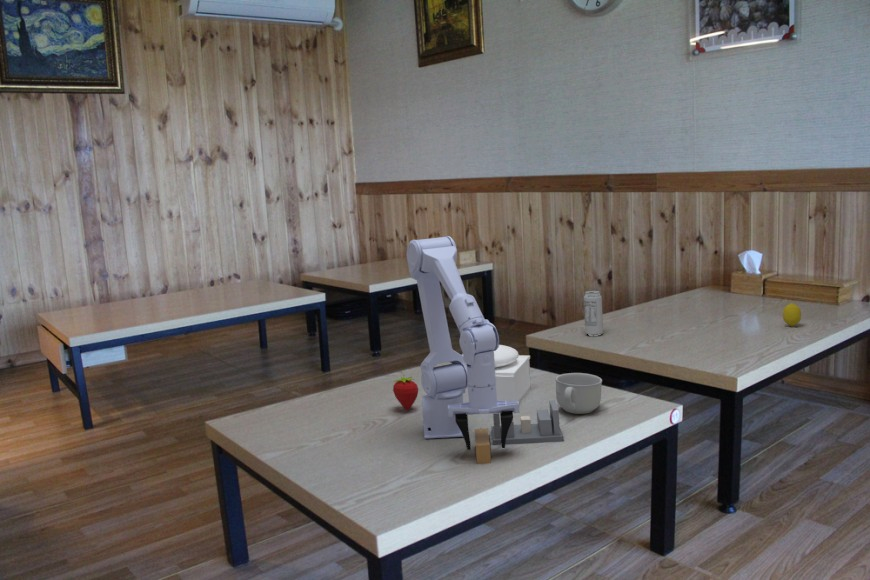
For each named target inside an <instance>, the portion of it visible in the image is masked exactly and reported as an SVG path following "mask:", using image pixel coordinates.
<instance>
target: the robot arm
mask: <svg viewBox="0 0 870 580" xmlns="http://www.w3.org/2000/svg"><path fill="white" fill-rule="evenodd" d="M457 259H458V250H457V244H456V242H455V241H454V239H453V238H452V237H451V236H449V235H446V236H441V237H440V236H439V237H431V238H425V239H424V238H423V239H411V240H410V241H409V243H408V245H407V249H406V260H407V267H408V271H409V274H410V278H411V279H413V280H416V284H417V289H418V293H419V300H420V305H421V311H422V316H423V320H424V326H425V331H426V336H427V342H428V347H429V354H428V355H427V356H426V357H425V358H424V360H422V362H421V363H420V374H421V376H420V381H421V386H422V389H423V391H424V393H425V394H426V395H425V394H424V395H422V396H421V409H422V410H421V412H422V428H423V437H424V439H444V438H445V439H446V438H461V437H463V439H464V442H465V447H466V450H467V451H471V449H472V448H471V438H470V432H469V419H468V418H469V417H468V416H469V415H487V414H488V415H489V414H493V413H499V417H500V426H501V444H500V446H501V449H506V444H505V443H506V437H507V433H508V430H509V427H510V425H511V423H512V420H513V421H514V414H520V413H521V412H520V410H521V409H520V402H519V401H497V393H496V377H495V360H494V351H496V350H497V349H498V346H499V345H500V337H499V333H498V330H497V327H496V326H495V325H494V324H493V323H491V322H490V321H489V319H485V316H484V315H483V313H482V311H481V308H480V307H479V304H478V303H477V300H476V298H475V297H474V296H473V295H472V294H469V293H467V291H466V289H465V286H464V283H463V280H462V278H461V275H460V272H459V270H458V267H457V261H458V260H457ZM441 285H442V287H443V289H444V291H445V293H446V294H447V296H448V297H449V300H450V304H449V305H448V306H449V307H448V309H449V311H450V313H451V316H452V318H453V321H454V322H455V324H456V327H457V329H458V331H459V334H460V335H459V336H460V337H459V340H458V341H459V346H460V350H461V351H462V354H463V356H462V354H460V353H459V352H457V351H455V350H454V349H453V346H452V340H451V336H450V330H449V326H448V325H449V324H448V319H447V314H446V309H445V303H444V299H443V294H442V288H441ZM446 363H449V364H446ZM465 363H466V364H467V366H466V364H465ZM441 364H442V365H441ZM443 364H444V365H443ZM437 365H439V366H437ZM467 387H468V393H469V402H467V403H463V393H465V389H466V388H467Z"/></svg>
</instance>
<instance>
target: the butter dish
mask: <svg viewBox="0 0 870 580" xmlns="http://www.w3.org/2000/svg"><path fill="white" fill-rule="evenodd" d="M461 355H462V356H463V353H462V354H461ZM530 359H531V355H520V354H519V351H518V350H517V349H515V348H513V347H511V346H507V345H505V344H504V345H503V344H499V346H498V349H497V350H496V351H494V360H495V377H496V393H497V401H519V403H520V402H521V401H522V400H523V398H524V397H525V396H526V395H527V393H528V392H529V391H530V389H531V386H532V384H531V367H530ZM465 364H466V363H465ZM466 366H467V364H466ZM467 402H469V393H468V387H467V388H466V389H465V393H463V403H467Z"/></svg>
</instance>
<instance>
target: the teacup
mask: <svg viewBox="0 0 870 580" xmlns="http://www.w3.org/2000/svg"><path fill="white" fill-rule="evenodd" d="M602 383H603V379H602V378H601V377H599V376H598V375H594V374H590V373H583V372H571V373H570V372H569V373H562V374H560V375H557V376H556V377H555V395H556V397H555V398H556V401H557V405H558V406H559V407H561V408H562V409H563V411H565V412H567V413H569V414H573V415H574V414H575V415H585V414H591V413H592V412H593V411H594V410H596V409H597V408H598V407H599V406H600V404H601V399H602V398H601V397H602Z"/></svg>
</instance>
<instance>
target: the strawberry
mask: <svg viewBox="0 0 870 580" xmlns="http://www.w3.org/2000/svg"><path fill="white" fill-rule="evenodd" d="M400 374H403V373H402V371H401V372H400ZM400 377H401V378H399V379H396V380H393V382H394V384H393V388H392V391H393V394H394V397H395V399H396V400H397V401H398V403H399V404H400V405H401V406H402V407H403V408H404V410H406V411H409V410H411V408H412V407H413V405H414V404H415V402H416V399H417V398H418V394H419V386H418V385H417V383H416V382H415V381H414V380H415V378H413V376H409V377H405V376H400Z"/></svg>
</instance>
